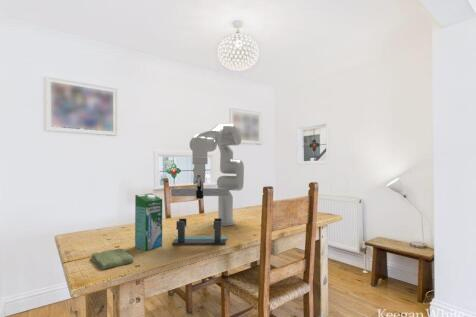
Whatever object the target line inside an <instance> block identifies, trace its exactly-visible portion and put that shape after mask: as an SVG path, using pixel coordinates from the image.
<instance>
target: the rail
mask: <svg viewBox="0 0 476 317" xmlns="http://www.w3.org/2000/svg"><path fill="white" fill-rule="evenodd" d="M196 188H197V187H191V188H190V187H188V188H186V187H185V188H184V187H181V188H179V187H177V188H176V187H174V188H173V187H172V188H171V189H170V190H171V191H170V195H171V197H196V191H197V190H196ZM202 190H203V196H204V197H218V196H228V188H218V187H203V188H202Z"/></svg>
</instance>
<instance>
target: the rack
mask: <svg viewBox="0 0 476 317" xmlns="http://www.w3.org/2000/svg"><path fill="white" fill-rule="evenodd" d="M186 227H187V218H179V219H178V220H177V221H176V230H177V236H178V240H173V241H172V242H171V244H172V246H226V244H227V243H226V240H221V236H222V235H221V234H222V231H221V230H222V218H218V217H217V218H215V217H214V220H213V230H214V234H213V236H214V240H185V236H186Z"/></svg>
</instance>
